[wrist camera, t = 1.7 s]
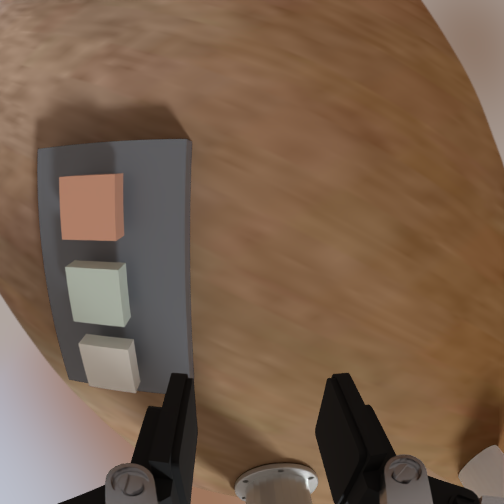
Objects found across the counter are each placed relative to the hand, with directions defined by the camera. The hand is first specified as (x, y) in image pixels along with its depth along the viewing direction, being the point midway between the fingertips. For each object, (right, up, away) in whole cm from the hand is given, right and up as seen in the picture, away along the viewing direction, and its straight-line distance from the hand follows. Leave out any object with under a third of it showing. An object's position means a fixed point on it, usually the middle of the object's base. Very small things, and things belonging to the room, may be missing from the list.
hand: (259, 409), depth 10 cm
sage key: (-13, +2, +14) cm, 19 cm away
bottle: (+51, -42, +34) cm, 74 cm away
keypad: (-13, +4, +18) cm, 23 cm away
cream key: (-13, -4, +16) cm, 21 cm away
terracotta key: (-12, +9, +12) cm, 20 cm away
